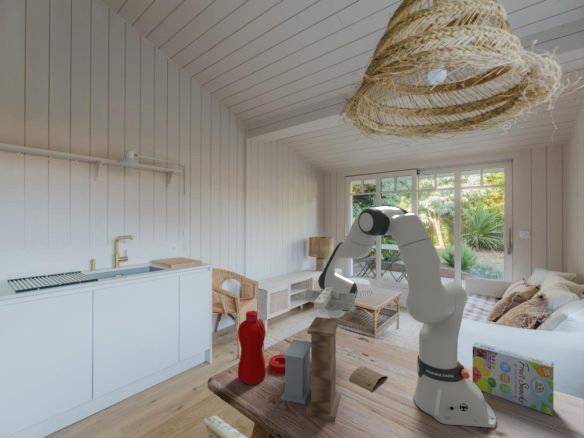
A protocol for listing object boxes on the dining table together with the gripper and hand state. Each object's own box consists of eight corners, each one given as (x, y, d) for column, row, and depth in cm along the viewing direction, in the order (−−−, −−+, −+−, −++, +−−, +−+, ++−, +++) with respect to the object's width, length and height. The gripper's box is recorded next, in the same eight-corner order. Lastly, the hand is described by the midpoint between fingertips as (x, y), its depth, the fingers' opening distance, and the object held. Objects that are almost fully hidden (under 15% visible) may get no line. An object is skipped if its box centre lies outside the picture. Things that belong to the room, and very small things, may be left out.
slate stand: (313, 383, 102) (313, 342, 102) (304, 404, 91) (304, 358, 91) (292, 379, 105) (292, 339, 105) (281, 399, 93) (281, 354, 93)
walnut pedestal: (340, 396, 95) (340, 319, 95) (335, 421, 83) (335, 333, 83) (314, 391, 98) (314, 316, 97) (305, 414, 86) (305, 330, 86)
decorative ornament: (296, 364, 116) (296, 357, 116) (286, 376, 107) (286, 368, 107) (276, 359, 120) (276, 352, 120) (264, 370, 111) (264, 362, 111)
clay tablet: (371, 394, 97) (371, 386, 97) (346, 382, 104) (346, 375, 104) (389, 377, 107) (389, 370, 107) (365, 367, 114) (365, 361, 114)
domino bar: (333, 293, 113) (333, 287, 113) (323, 310, 93) (322, 302, 93) (326, 292, 114) (326, 286, 114) (314, 309, 94) (314, 301, 94)
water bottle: (254, 390, 98) (253, 319, 98) (234, 379, 105) (234, 312, 105) (272, 379, 105) (272, 312, 105) (252, 368, 112) (252, 306, 112)
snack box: (553, 408, 89) (553, 360, 89) (553, 417, 85) (553, 367, 85) (475, 381, 104) (475, 340, 104) (471, 388, 100) (471, 345, 100)
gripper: (309, 292, 124) (302, 282, 112) (357, 295, 117) (354, 286, 106) (307, 306, 121) (299, 298, 109) (356, 311, 114) (353, 303, 103)
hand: (327, 292), depth 108 cm, fingers closed on domino bar, 3 cm apart
